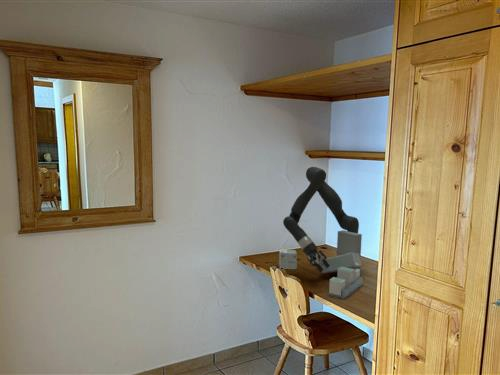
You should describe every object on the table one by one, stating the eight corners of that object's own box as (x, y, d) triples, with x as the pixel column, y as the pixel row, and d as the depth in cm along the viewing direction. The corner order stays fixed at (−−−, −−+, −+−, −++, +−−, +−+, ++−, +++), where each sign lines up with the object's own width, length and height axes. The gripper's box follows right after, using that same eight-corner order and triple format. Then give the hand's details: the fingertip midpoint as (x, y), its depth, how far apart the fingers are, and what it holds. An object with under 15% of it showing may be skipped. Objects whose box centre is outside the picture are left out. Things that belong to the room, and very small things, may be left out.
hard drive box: (322, 273, 227) (354, 265, 218) (318, 260, 229) (351, 252, 220) (331, 273, 240) (362, 265, 231) (327, 260, 242) (358, 252, 233)
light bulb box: (295, 266, 252) (295, 249, 250) (296, 269, 245) (297, 252, 244) (278, 266, 251) (279, 249, 250) (279, 269, 245) (280, 252, 243)
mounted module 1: (333, 289, 208) (333, 276, 207) (344, 292, 204) (345, 279, 203) (329, 292, 204) (329, 279, 203) (340, 295, 200) (341, 281, 199)
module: (340, 284, 216) (341, 266, 215) (352, 287, 212) (353, 268, 211) (336, 286, 212) (337, 268, 211) (349, 289, 208) (350, 271, 207)
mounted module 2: (348, 279, 225) (348, 266, 224) (359, 281, 221) (359, 269, 220) (344, 281, 221) (345, 269, 220) (355, 284, 217) (356, 271, 216)
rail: (347, 281, 225) (347, 273, 225) (362, 284, 220) (362, 277, 219) (327, 295, 204) (328, 286, 204) (344, 299, 199) (344, 290, 198)
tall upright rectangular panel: (360, 274, 237) (362, 234, 234) (354, 276, 233) (356, 235, 230) (341, 268, 248) (343, 230, 245) (335, 270, 244) (337, 231, 241)
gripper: (305, 244, 216) (324, 268, 211) (317, 239, 228) (335, 262, 222) (297, 251, 220) (315, 276, 215) (308, 246, 231) (326, 269, 226)
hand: (325, 268), depth 218 cm, fingers open, 8 cm apart
